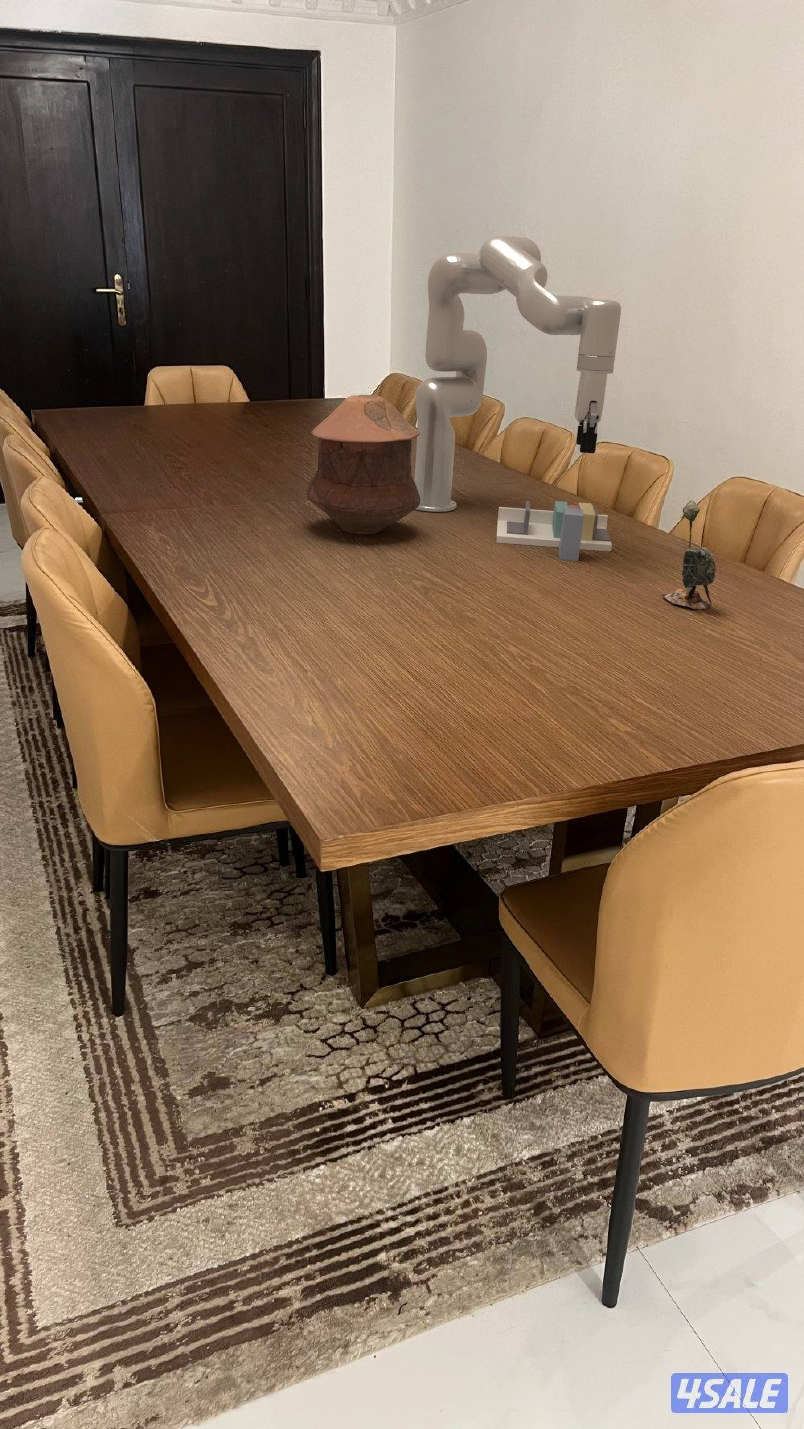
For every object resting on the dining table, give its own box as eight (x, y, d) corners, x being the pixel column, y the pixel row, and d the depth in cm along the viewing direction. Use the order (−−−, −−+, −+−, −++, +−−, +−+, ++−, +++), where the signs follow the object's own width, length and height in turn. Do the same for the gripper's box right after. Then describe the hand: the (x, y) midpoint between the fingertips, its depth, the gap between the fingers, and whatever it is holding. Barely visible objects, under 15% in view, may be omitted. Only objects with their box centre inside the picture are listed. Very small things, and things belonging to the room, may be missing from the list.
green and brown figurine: (683, 615, 192) (702, 510, 183) (657, 596, 201) (673, 495, 193) (722, 614, 193) (743, 510, 185) (694, 595, 203) (712, 495, 195)
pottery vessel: (435, 527, 240) (444, 396, 228) (388, 552, 219) (396, 409, 207) (339, 511, 250) (342, 384, 237) (285, 533, 229) (286, 395, 216)
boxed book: (559, 559, 222) (565, 514, 217) (558, 552, 227) (564, 507, 223) (578, 561, 221) (584, 515, 217) (576, 553, 227) (582, 509, 223)
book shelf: (496, 542, 232) (499, 509, 228) (497, 525, 246) (500, 494, 243) (611, 551, 230) (615, 518, 227) (605, 533, 244) (609, 502, 241)
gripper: (574, 359, 217) (564, 440, 224) (580, 367, 202) (570, 454, 209) (609, 361, 217) (599, 443, 224) (618, 369, 201) (607, 457, 208)
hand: (585, 448), depth 216 cm, fingers open, 9 cm apart
